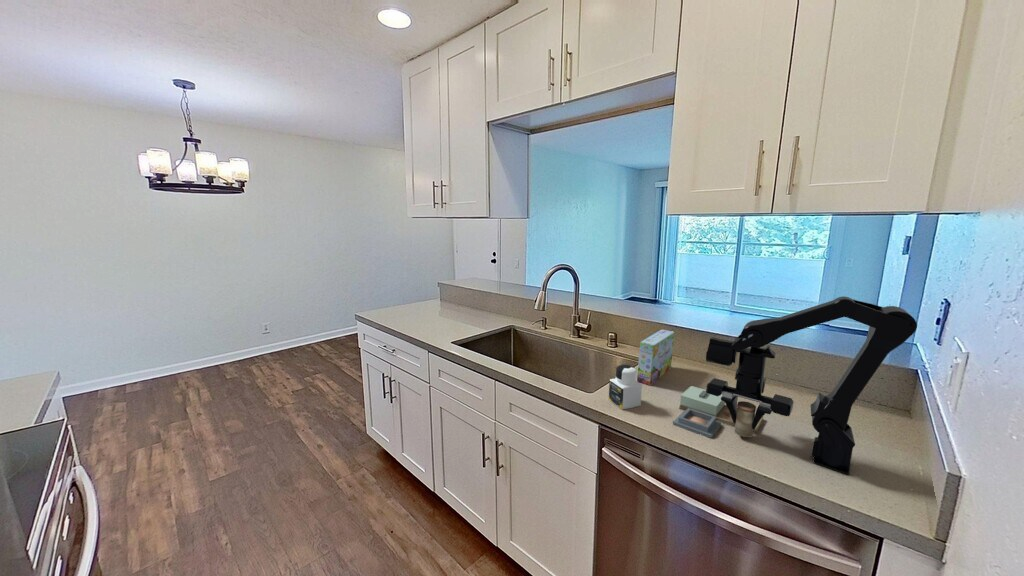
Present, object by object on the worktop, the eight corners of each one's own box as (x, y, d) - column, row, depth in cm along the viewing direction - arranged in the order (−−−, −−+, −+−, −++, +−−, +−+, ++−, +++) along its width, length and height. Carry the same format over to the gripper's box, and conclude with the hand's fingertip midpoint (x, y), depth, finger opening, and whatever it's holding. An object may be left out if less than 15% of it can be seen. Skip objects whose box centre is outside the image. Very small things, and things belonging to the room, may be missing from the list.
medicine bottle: (608, 399, 122) (609, 364, 119) (626, 396, 124) (628, 361, 122) (621, 410, 115) (624, 372, 113) (641, 406, 117) (643, 369, 115)
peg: (754, 432, 101) (757, 404, 99) (750, 439, 98) (754, 410, 96) (736, 427, 103) (739, 399, 102) (732, 433, 101) (735, 405, 99)
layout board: (763, 419, 109) (763, 415, 109) (755, 433, 102) (755, 429, 102) (690, 397, 123) (691, 394, 123) (679, 408, 116) (679, 405, 116)
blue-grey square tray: (721, 425, 107) (721, 417, 106) (711, 438, 100) (712, 430, 100) (684, 412, 113) (684, 405, 113) (672, 424, 107) (673, 417, 106)
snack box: (651, 386, 131) (654, 344, 128) (636, 382, 135) (638, 341, 132) (672, 368, 147) (675, 331, 144) (657, 364, 151) (660, 328, 148)
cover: (724, 404, 116) (725, 393, 115) (715, 415, 109) (717, 403, 108) (690, 394, 122) (691, 383, 122) (680, 404, 116) (681, 392, 115)
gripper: (800, 370, 97) (792, 426, 100) (720, 353, 109) (714, 403, 112) (793, 384, 89) (785, 445, 92) (708, 364, 101) (702, 417, 104)
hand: (744, 425), depth 100 cm, fingers closed on peg, 4 cm apart
